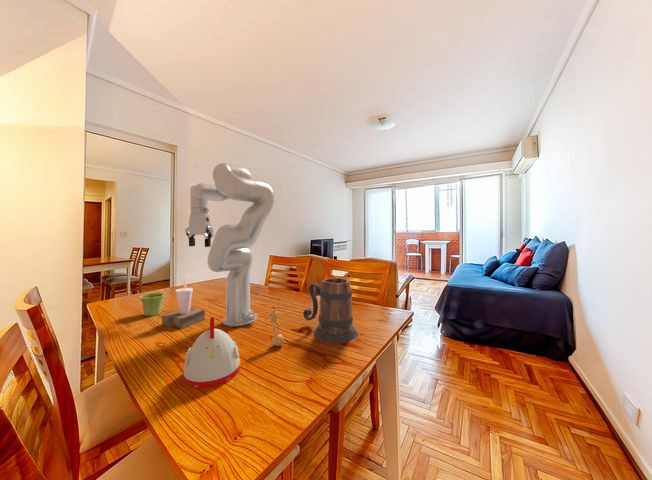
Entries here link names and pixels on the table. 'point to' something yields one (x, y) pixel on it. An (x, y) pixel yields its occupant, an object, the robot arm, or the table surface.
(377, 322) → the table surface
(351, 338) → the tankard
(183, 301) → the smoothie
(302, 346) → the table surface
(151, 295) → the plant pot
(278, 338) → the figurine
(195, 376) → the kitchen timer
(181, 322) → the plinth
